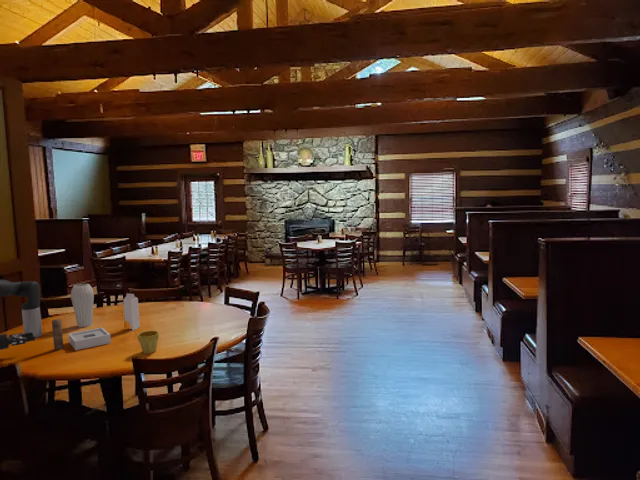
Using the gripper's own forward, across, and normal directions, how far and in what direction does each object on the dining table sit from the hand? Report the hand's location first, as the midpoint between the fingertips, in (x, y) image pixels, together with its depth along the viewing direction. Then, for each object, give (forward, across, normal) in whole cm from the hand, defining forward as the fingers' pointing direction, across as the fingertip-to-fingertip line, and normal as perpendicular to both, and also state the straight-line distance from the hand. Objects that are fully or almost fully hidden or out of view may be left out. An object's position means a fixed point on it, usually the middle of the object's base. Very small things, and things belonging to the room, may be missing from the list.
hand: (33, 336), depth 250 cm
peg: (+11, 0, +10) cm, 15 cm away
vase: (+32, +41, +10) cm, 53 cm away
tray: (+27, 0, +10) cm, 28 cm away
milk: (+54, +12, +10) cm, 56 cm away
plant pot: (+47, -39, +10) cm, 62 cm away
